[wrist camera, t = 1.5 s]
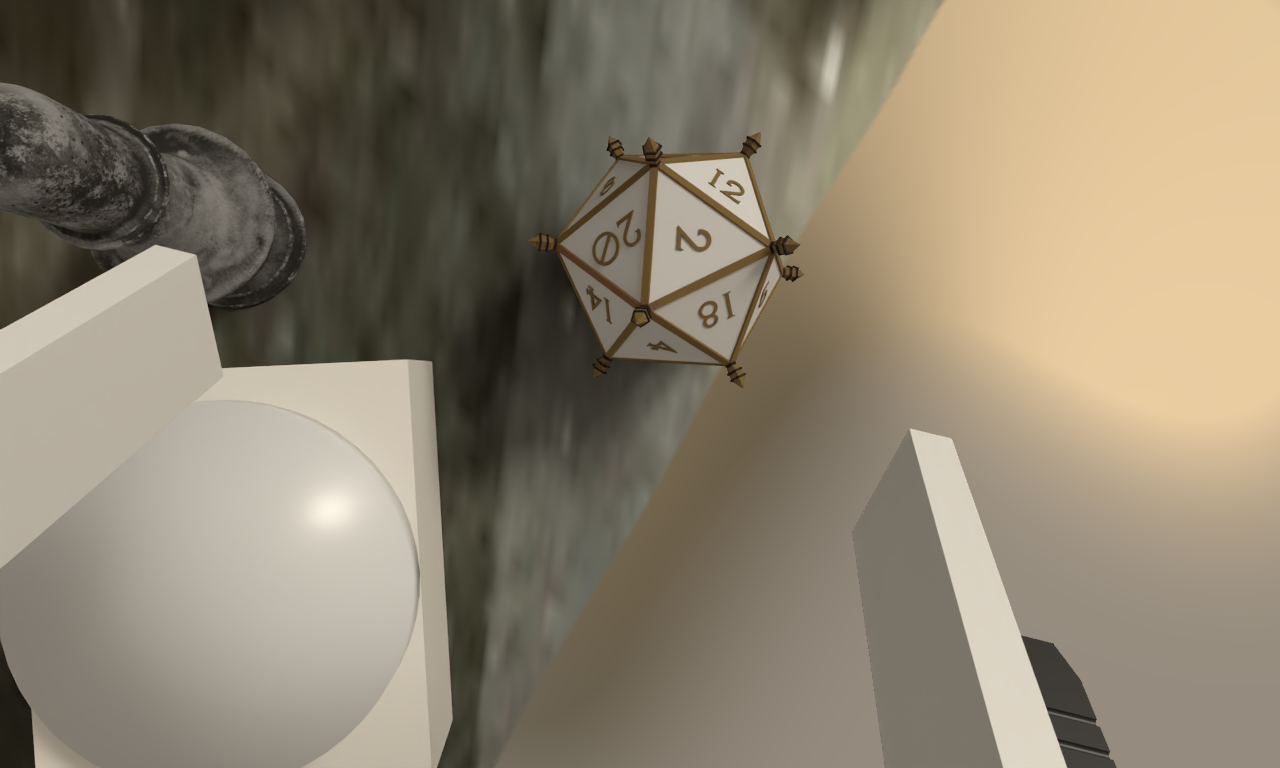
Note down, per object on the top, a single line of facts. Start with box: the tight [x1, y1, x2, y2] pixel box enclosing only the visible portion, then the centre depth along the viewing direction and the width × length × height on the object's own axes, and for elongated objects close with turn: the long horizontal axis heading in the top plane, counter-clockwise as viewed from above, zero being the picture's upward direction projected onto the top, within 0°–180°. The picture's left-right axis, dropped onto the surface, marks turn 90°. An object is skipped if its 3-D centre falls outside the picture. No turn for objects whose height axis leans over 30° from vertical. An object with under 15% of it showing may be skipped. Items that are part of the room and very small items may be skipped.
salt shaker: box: [0, 83, 307, 308], centre depth 19 cm, size 6×6×12 cm
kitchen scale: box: [0, 360, 453, 768], centre depth 23 cm, size 14×12×5 cm
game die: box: [528, 132, 804, 388], centre depth 23 cm, size 9×8×10 cm
